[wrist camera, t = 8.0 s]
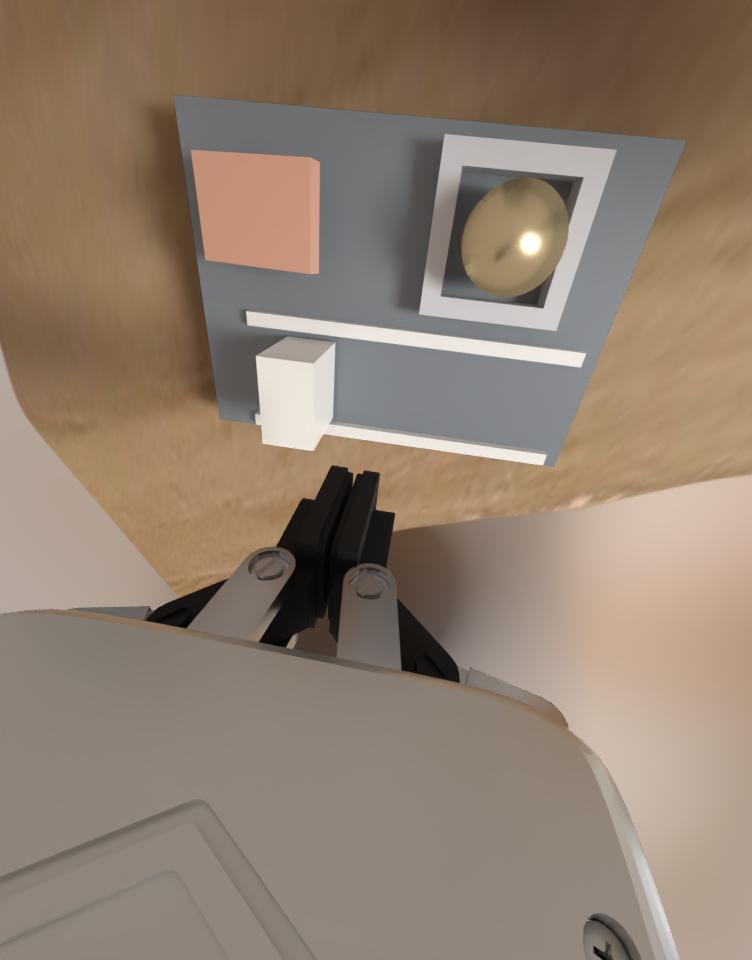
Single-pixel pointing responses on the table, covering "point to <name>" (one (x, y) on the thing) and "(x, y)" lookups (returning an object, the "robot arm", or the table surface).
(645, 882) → the robot arm
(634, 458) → the table surface
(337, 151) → the control panel
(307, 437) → the white slider block
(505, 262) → the push button
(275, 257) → the rocker switch
